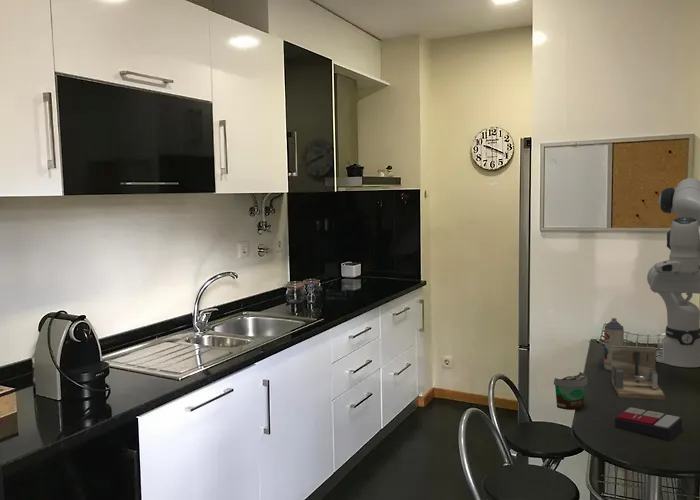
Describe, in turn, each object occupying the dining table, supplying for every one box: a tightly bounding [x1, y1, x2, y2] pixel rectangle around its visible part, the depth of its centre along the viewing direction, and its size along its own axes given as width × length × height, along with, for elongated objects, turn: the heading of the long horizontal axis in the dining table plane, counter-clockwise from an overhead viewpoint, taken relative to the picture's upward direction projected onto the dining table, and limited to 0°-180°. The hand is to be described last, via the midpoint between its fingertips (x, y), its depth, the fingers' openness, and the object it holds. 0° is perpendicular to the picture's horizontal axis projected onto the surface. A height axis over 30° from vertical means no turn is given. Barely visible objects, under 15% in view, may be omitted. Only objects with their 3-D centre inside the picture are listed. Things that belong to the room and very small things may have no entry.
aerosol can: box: [603, 317, 625, 373], centre depth 228 cm, size 7×7×20 cm
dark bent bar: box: [634, 352, 640, 381], centre depth 208 cm, size 3×2×10 cm, turn 164°
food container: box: [553, 371, 588, 411], centre depth 191 cm, size 12×6×10 cm, turn 117°
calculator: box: [614, 407, 683, 442], centre depth 173 cm, size 11×4×15 cm
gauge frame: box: [611, 345, 666, 401], centre depth 204 cm, size 16×14×14 cm
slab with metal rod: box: [634, 369, 658, 389], centre depth 205 cm, size 8×7×5 cm
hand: (683, 305), depth 202 cm, fingers closed
